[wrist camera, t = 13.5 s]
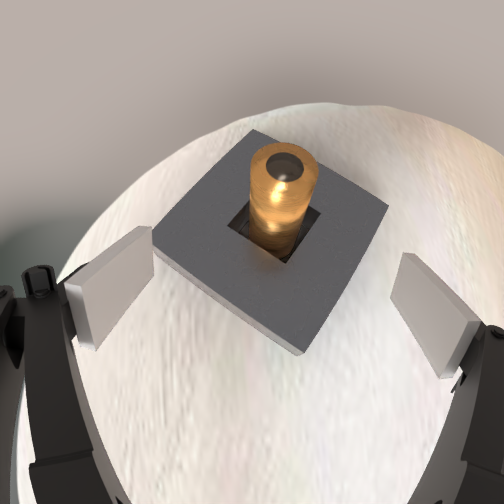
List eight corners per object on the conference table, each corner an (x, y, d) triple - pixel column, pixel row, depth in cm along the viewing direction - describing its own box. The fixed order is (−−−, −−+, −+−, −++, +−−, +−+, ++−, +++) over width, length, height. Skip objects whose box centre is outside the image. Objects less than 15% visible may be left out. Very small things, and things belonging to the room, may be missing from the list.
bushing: (265, 210, 33) (274, 133, 22) (303, 233, 32) (329, 162, 21) (239, 242, 32) (236, 171, 21) (278, 268, 31) (297, 206, 20)
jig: (252, 151, 37) (253, 129, 33) (376, 223, 33) (389, 205, 29) (155, 254, 31) (144, 238, 27) (296, 356, 27) (304, 353, 23)
